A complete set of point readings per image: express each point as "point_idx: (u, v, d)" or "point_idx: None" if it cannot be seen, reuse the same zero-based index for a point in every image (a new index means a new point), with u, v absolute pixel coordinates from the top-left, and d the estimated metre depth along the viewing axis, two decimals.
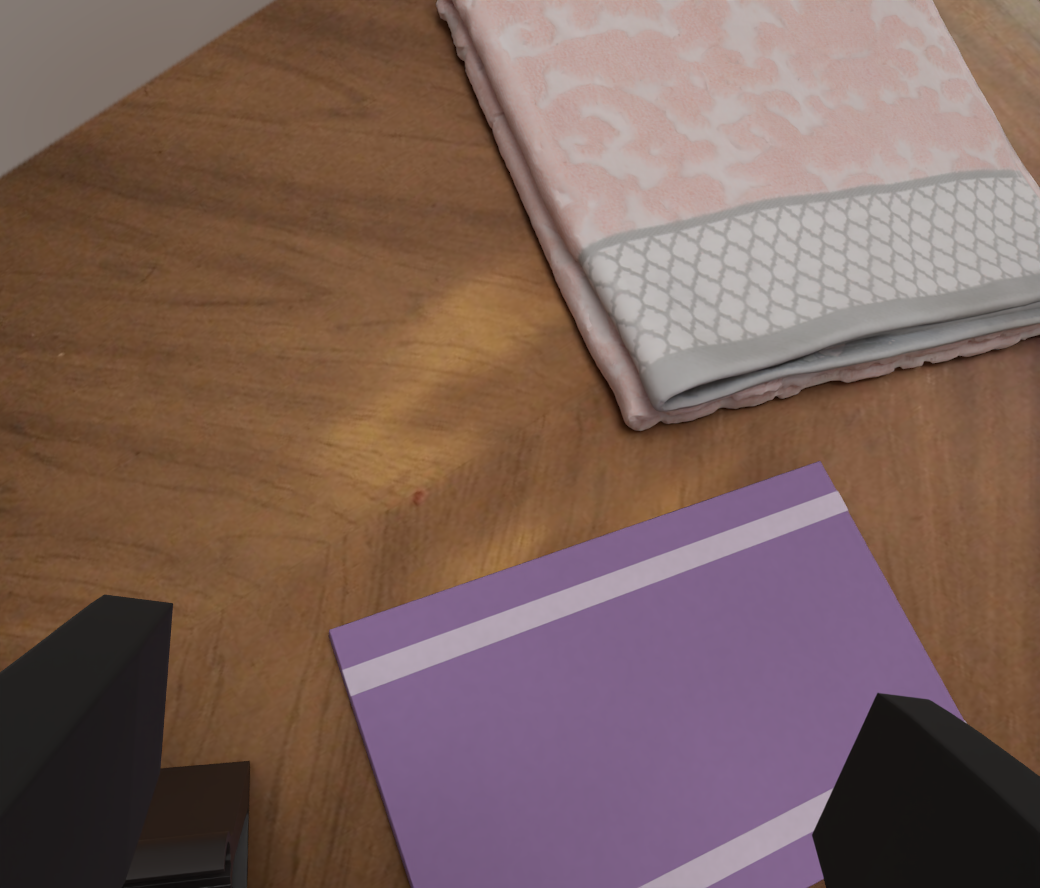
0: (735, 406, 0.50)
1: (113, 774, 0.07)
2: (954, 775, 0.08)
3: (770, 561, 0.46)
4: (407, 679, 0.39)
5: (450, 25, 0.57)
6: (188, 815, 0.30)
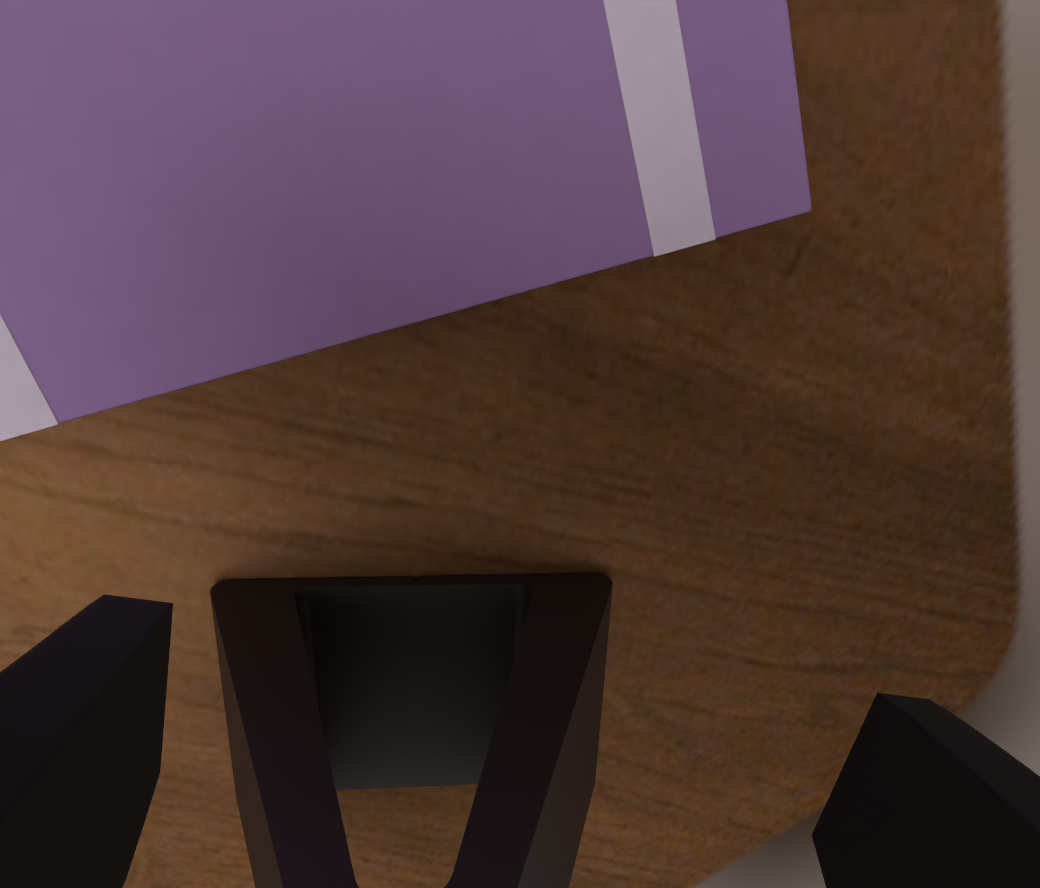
0: None
1: (115, 774, 0.07)
2: (955, 775, 0.08)
3: None
4: (2, 296, 0.16)
5: None
6: (271, 878, 0.15)
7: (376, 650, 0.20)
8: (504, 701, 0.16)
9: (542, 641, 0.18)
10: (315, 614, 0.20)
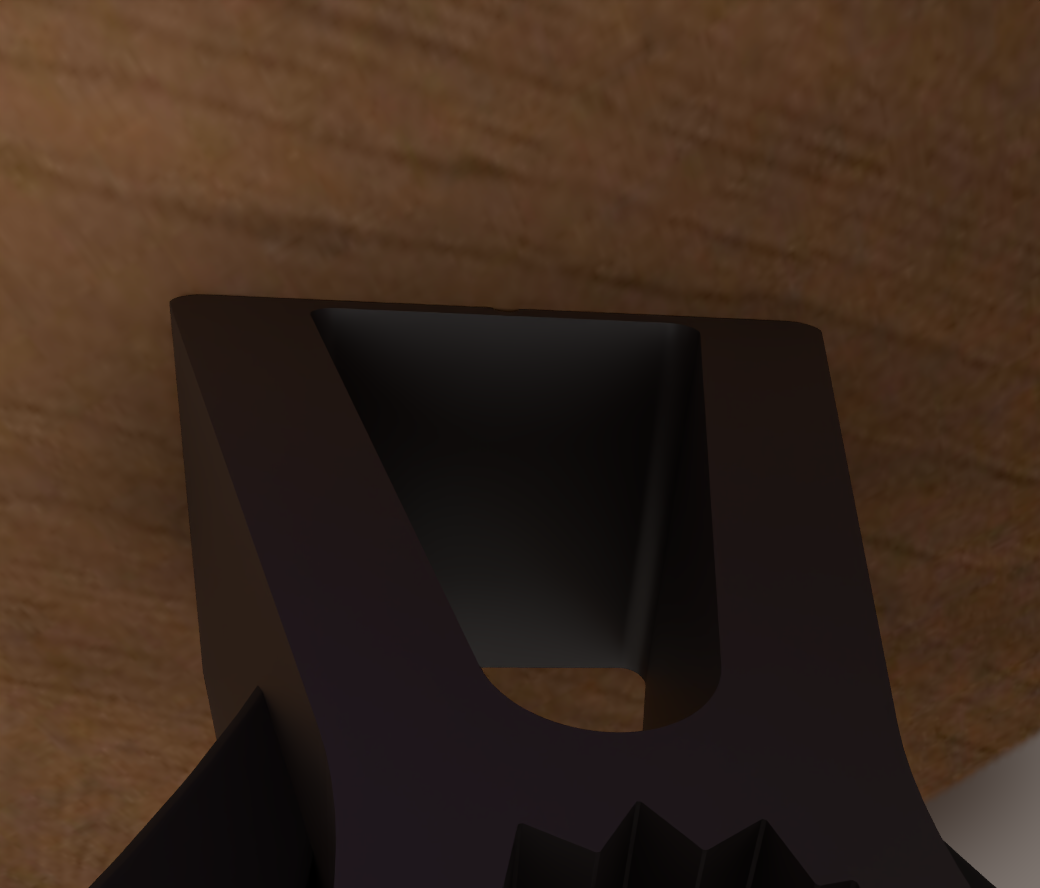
0: None
1: None
2: None
3: None
4: None
5: None
6: None
7: (435, 429, 0.13)
8: (710, 431, 0.09)
9: (742, 374, 0.10)
10: (342, 358, 0.12)
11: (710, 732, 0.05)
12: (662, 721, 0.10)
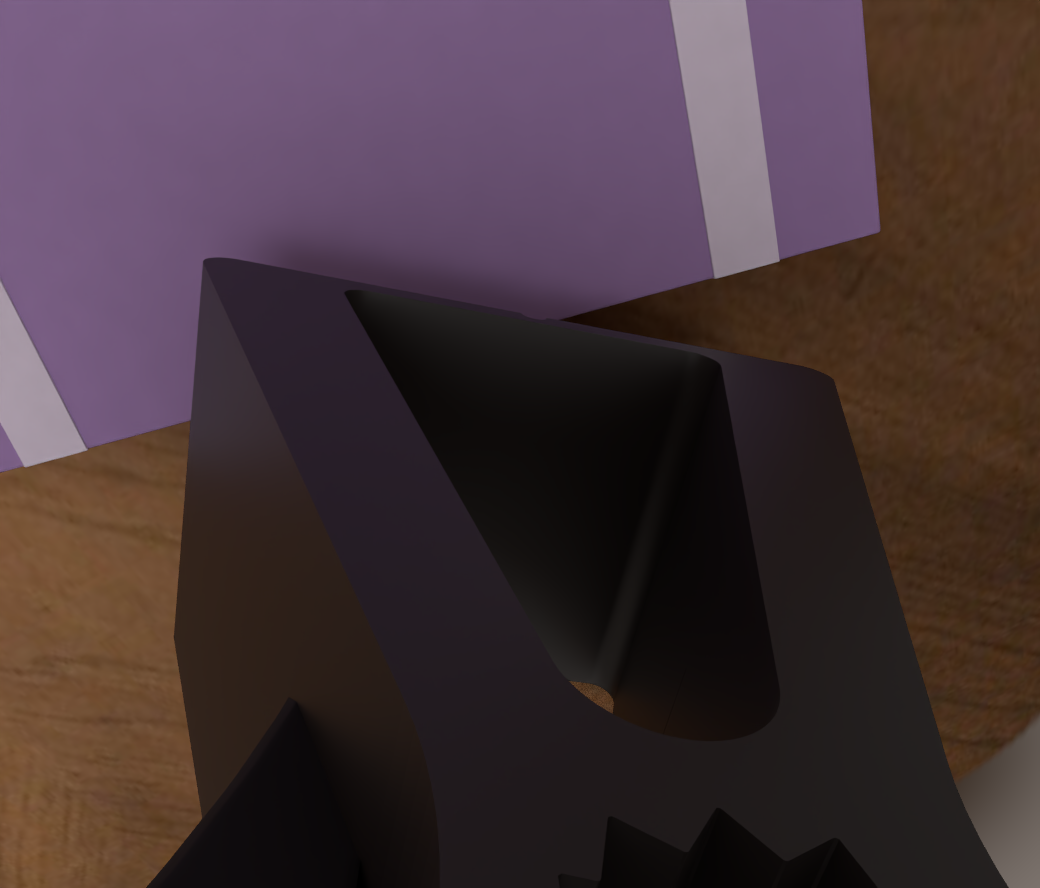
0: None
1: None
2: None
3: None
4: (30, 316, 0.15)
5: None
6: (290, 691, 0.07)
7: (448, 424, 0.13)
8: (742, 462, 0.09)
9: (765, 411, 0.11)
10: None
11: (777, 750, 0.05)
12: None
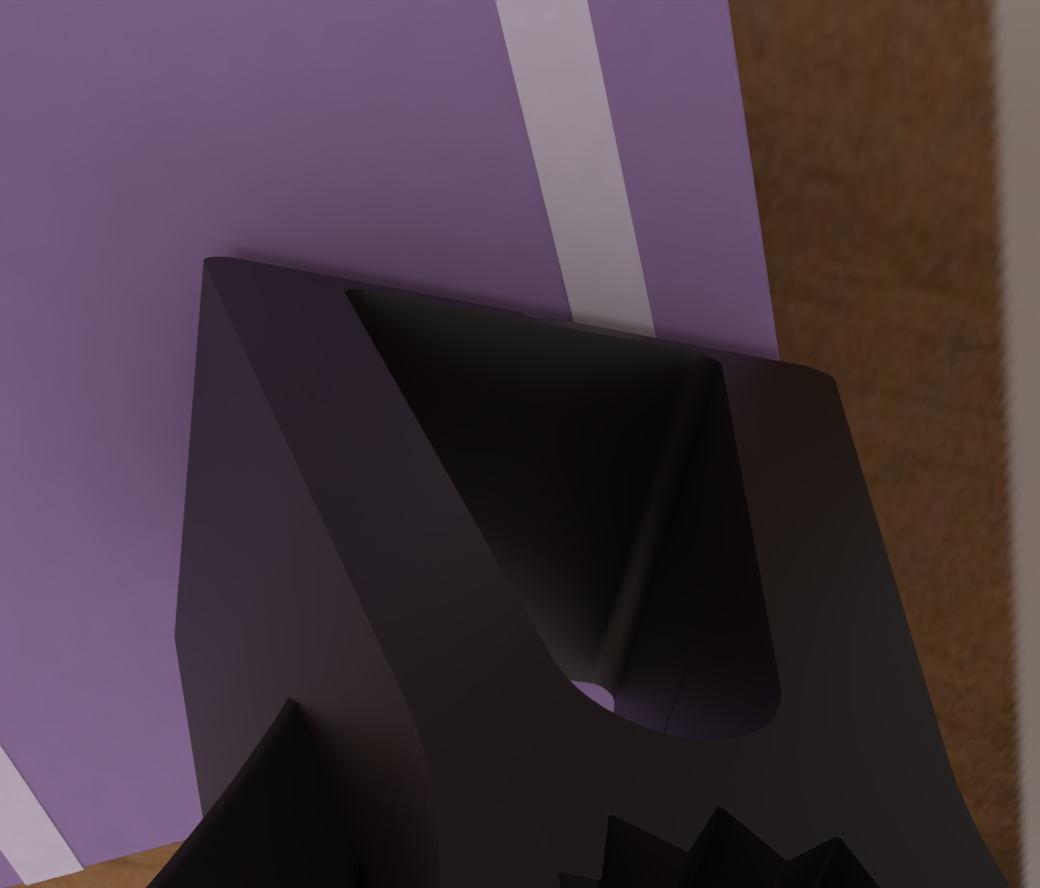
0: None
1: None
2: None
3: None
4: (30, 772, 0.16)
5: None
6: (291, 690, 0.07)
7: (448, 423, 0.13)
8: (743, 461, 0.09)
9: (765, 411, 0.11)
10: None
11: (778, 749, 0.05)
12: None
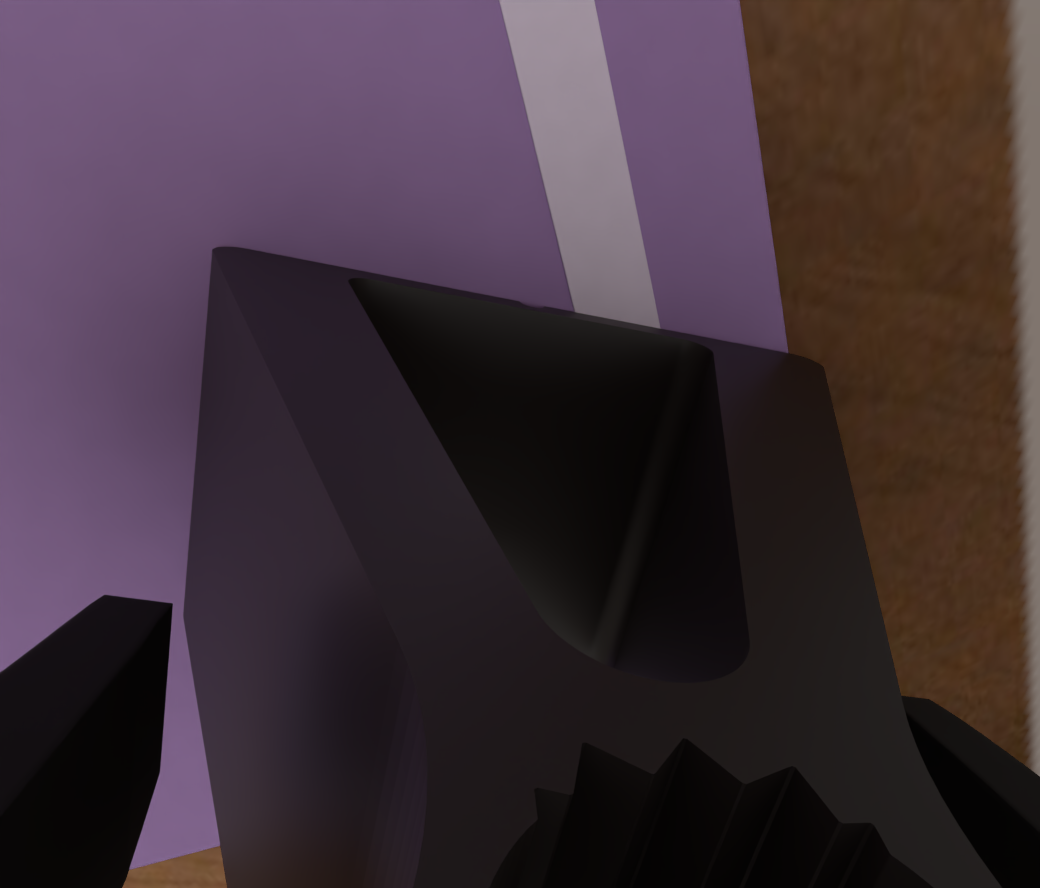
0: None
1: (115, 774, 0.07)
2: (954, 775, 0.08)
3: None
4: None
5: None
6: (294, 650, 0.07)
7: (448, 409, 0.13)
8: (728, 441, 0.09)
9: (753, 394, 0.11)
10: None
11: (743, 691, 0.05)
12: None
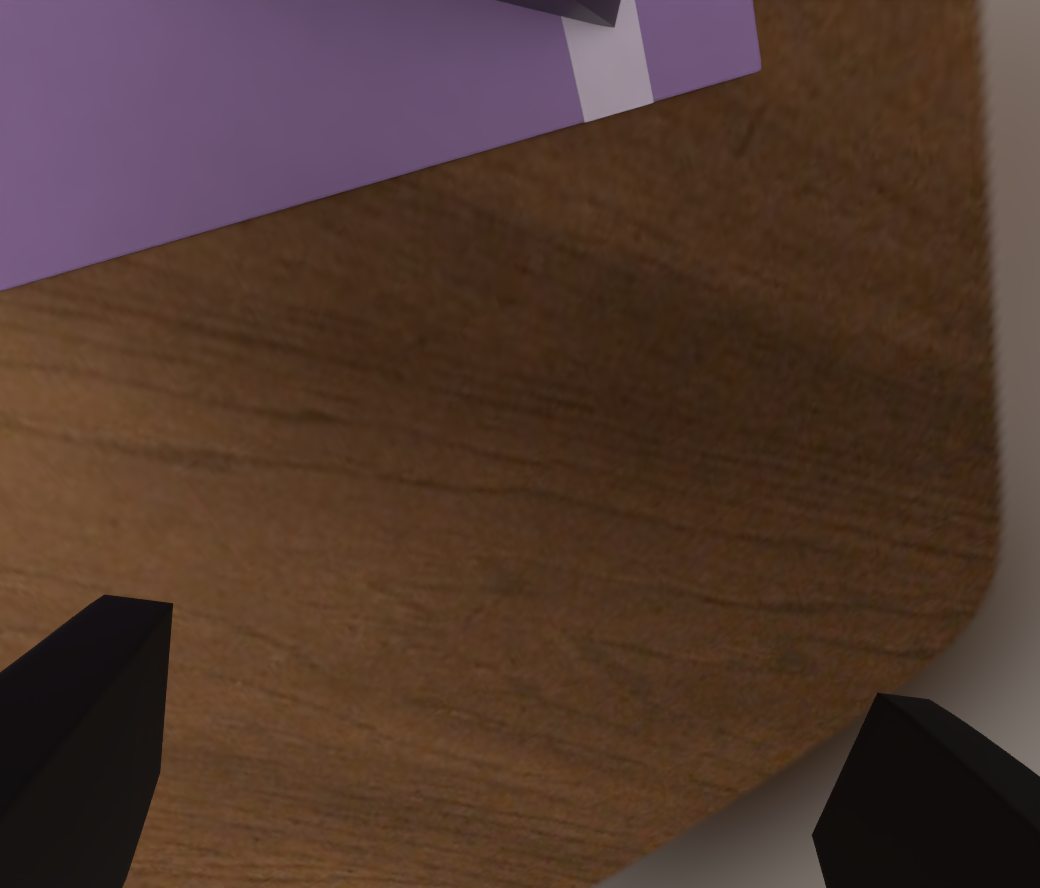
0: None
1: (115, 774, 0.07)
2: (955, 776, 0.08)
3: None
4: None
5: None
6: None
7: None
8: None
9: None
10: None
11: None
12: None
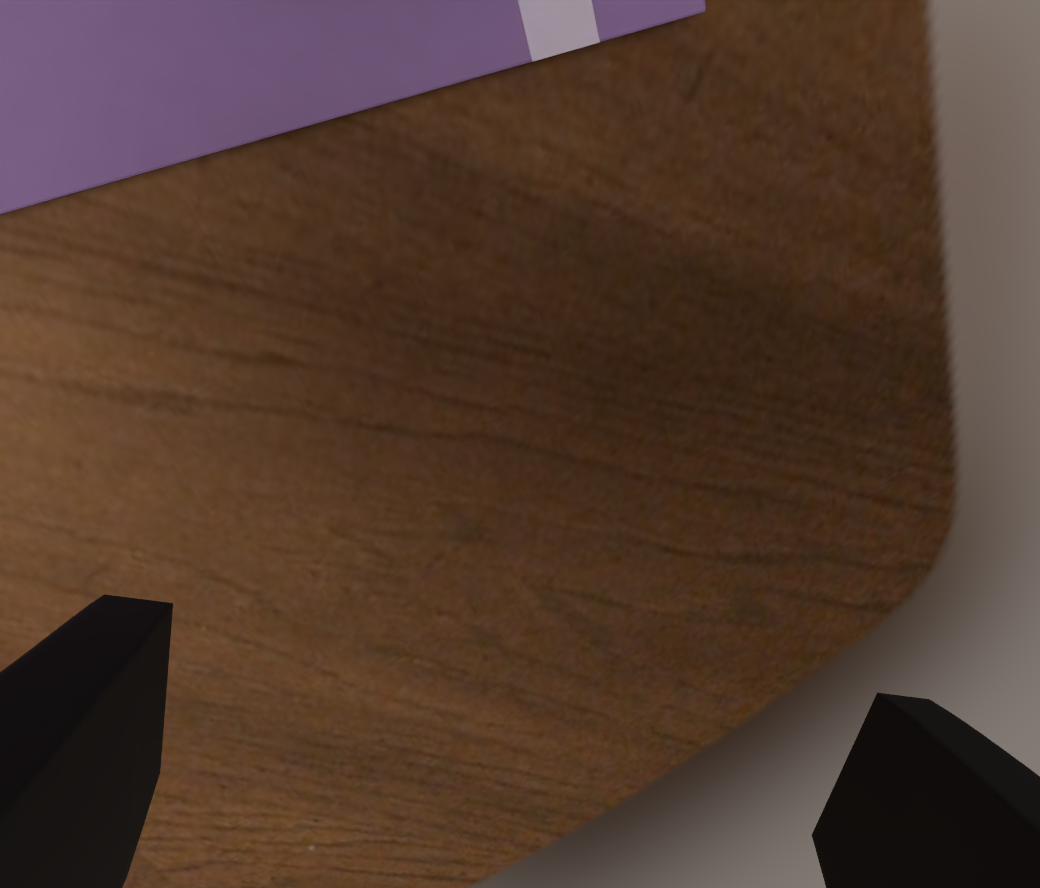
0: None
1: (115, 774, 0.07)
2: (954, 775, 0.08)
3: None
4: None
5: None
6: None
7: None
8: None
9: None
10: None
11: None
12: None
